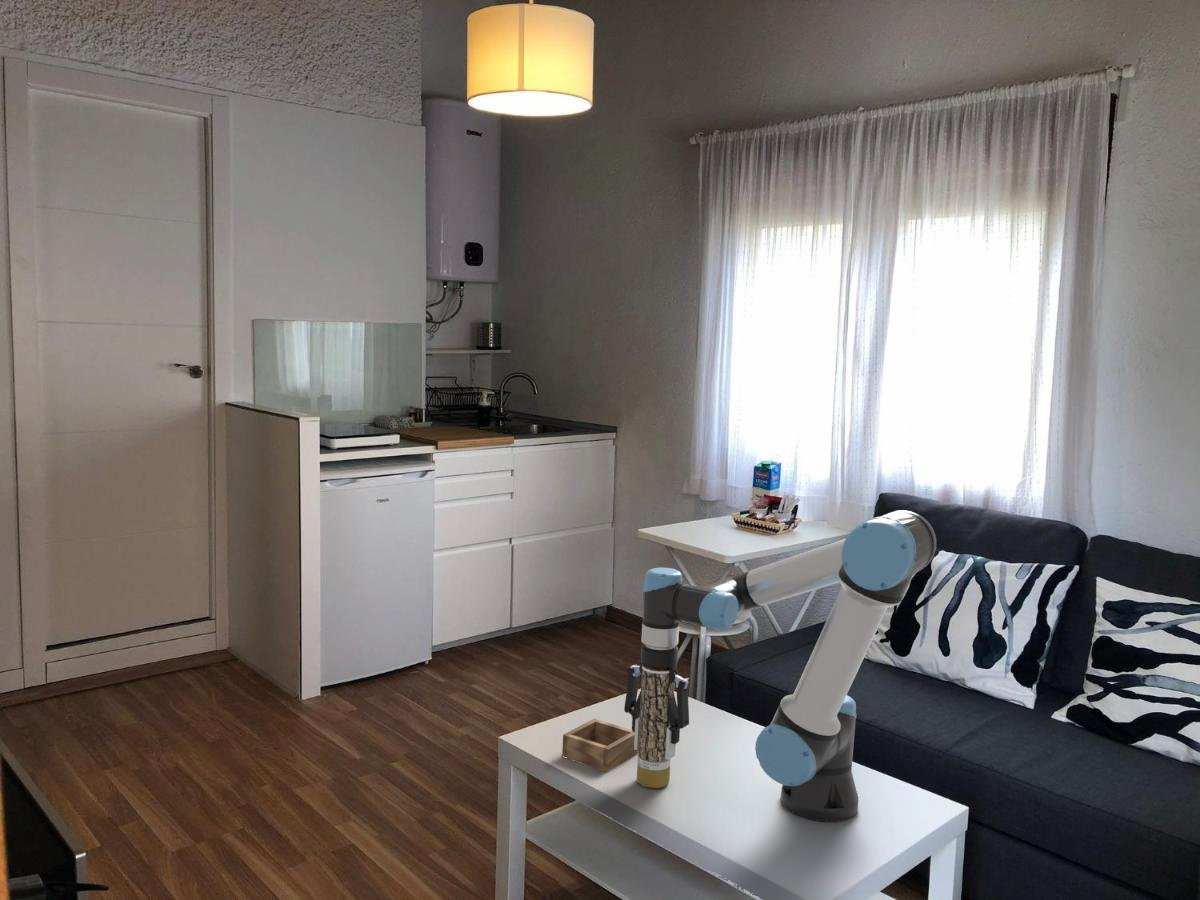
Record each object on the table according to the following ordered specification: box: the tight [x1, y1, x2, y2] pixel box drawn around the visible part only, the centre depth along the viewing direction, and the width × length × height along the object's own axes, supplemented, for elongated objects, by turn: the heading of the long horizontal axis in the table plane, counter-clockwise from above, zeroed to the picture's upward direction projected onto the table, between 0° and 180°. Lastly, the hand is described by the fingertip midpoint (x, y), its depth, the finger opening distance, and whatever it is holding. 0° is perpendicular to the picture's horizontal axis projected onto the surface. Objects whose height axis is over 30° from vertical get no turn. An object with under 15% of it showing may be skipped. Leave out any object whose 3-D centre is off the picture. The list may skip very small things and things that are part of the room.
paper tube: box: [636, 664, 676, 789], centre depth 207 cm, size 7×7×25 cm
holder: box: [561, 718, 638, 773], centre depth 220 cm, size 12×12×5 cm
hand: (654, 752), depth 207 cm, fingers closed on paper tube, 7 cm apart
